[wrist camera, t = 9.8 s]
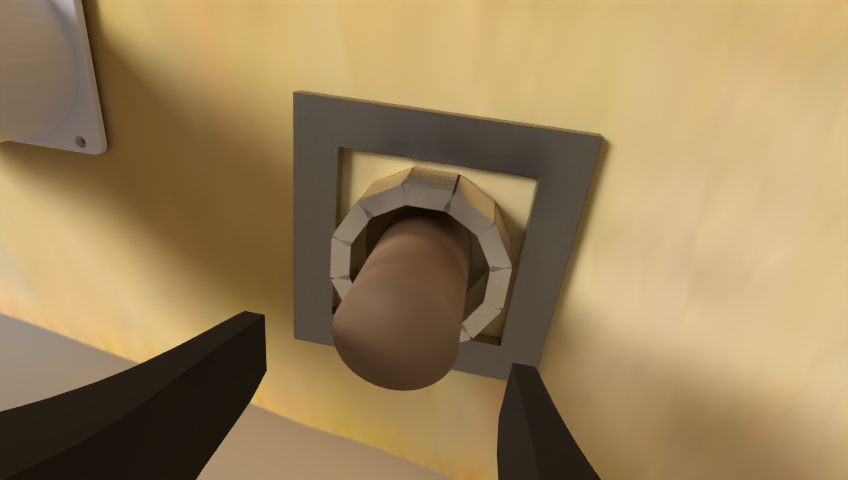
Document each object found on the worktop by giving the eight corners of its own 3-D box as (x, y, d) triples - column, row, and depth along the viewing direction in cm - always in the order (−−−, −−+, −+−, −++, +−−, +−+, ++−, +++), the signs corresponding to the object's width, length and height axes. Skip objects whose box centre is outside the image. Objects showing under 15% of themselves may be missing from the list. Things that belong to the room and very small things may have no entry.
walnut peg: (380, 277, 21) (330, 377, 15) (387, 198, 20) (333, 272, 13) (464, 292, 21) (449, 401, 15) (478, 212, 19) (467, 296, 13)
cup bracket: (299, 331, 23) (277, 362, 21) (299, 90, 18) (271, 97, 16) (531, 377, 22) (535, 415, 20) (599, 133, 17) (614, 147, 15)
